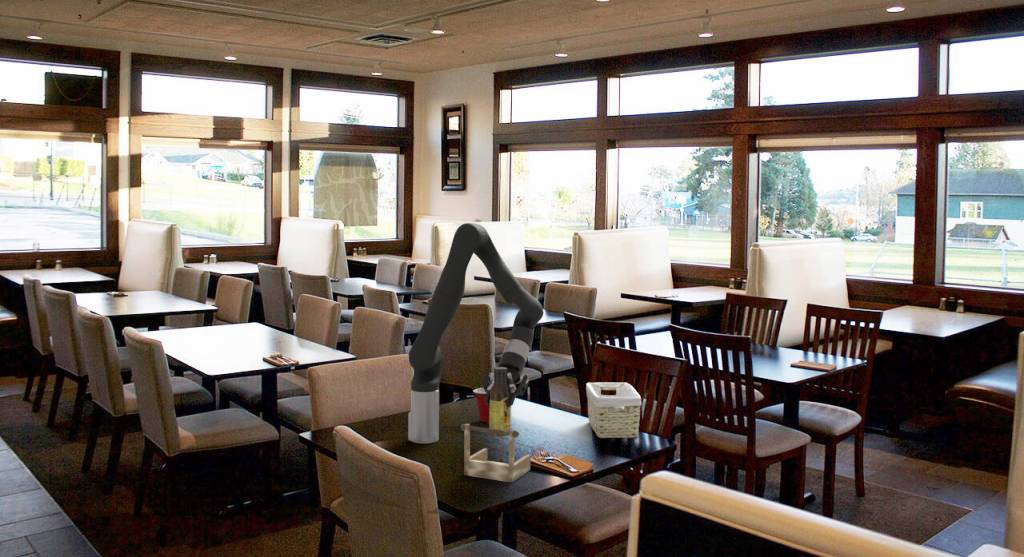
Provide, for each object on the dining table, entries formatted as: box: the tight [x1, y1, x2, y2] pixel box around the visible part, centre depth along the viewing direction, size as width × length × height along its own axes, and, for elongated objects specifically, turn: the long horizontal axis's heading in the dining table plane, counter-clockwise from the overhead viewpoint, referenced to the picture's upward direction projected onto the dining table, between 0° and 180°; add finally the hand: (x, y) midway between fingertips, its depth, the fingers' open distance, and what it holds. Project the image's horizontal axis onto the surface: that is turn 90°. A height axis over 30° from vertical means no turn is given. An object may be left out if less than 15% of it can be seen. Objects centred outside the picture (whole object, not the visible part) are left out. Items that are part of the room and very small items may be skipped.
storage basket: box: [585, 381, 643, 439], centre depth 306 cm, size 24×16×15 cm
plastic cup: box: [472, 387, 490, 423], centre depth 315 cm, size 11×11×12 cm
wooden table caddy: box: [460, 423, 531, 483], centre depth 256 cm, size 18×14×15 cm
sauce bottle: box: [488, 366, 512, 437], centre depth 256 cm, size 7×6×20 cm
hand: (497, 404), depth 255 cm, fingers closed on sauce bottle, 6 cm apart
